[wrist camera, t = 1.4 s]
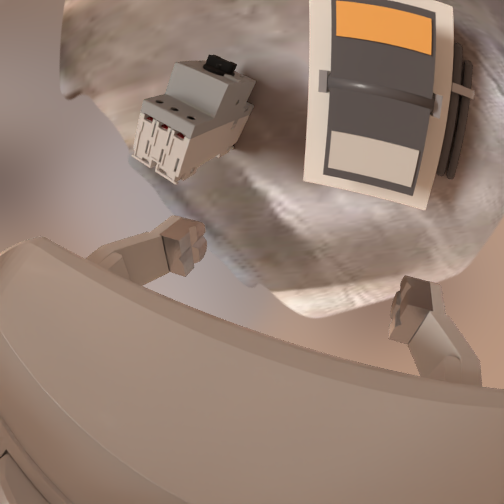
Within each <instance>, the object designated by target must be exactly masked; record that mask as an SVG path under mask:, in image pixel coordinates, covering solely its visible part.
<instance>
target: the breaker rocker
mask: <svg viewBox="0 0 504 504" xmlns="http://www.w3.org/2000/svg"><path fill="white" fill-rule="evenodd" d="M435 57H436V12H433V11H430V10H426V9H423V8H419V7H416V6H412V5H408V4H404V3H399V2H395V1H390V0H331V74H329V76H328V89H330V94H329V111H328V125H327V137H326V148H325V159H324V168H323V175H328V176H332V177H337V178H342V179H347V180H351V181H355V182H360V183H364V184H368V185H372V186H376V187H380V188H384V189H388V190H392V191H396V192H399V193H403V194H407V195H410V196H413V194H414V190H415V186H416V182H417V178H418V174H419V170H420V165H421V161H422V156H423V151H424V146H425V141H426V136H427V130H428V124H429V118H430V112H432V110H433V106H434V98H433V97H432V95H433V85H434V74H435Z"/></svg>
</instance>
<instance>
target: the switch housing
mask: <svg viewBox="0 0 504 504" xmlns="http://www.w3.org/2000/svg"><path fill="white" fill-rule="evenodd" d="M390 1H395V2H399V3H404V4H408V5H412V6H416V7H419V8H423V9H426V10H430V11H433V12H436V57H435V74H434V85H433V95H432V97H433V98H434V106H433V110H432V112H430V118H429V124H428V130H427V136H426V141H425V146H424V151H423V156H422V161H421V165H420V170H419V174H418V178H417V182H416V186H415V190H414V194H413V196H410V195H407V194H403V193H399V192H396V191H392V190H388V189H384V188H380V187H376V186H372V185H368V184H364V183H360V182H355V181H351V180H347V179H342V178H337V177H332V176H328V175H323V168H324V159H325V148H326V137H327V125H328V111H329V94H330V89H328V76H329V74H331V0H309V13H310V47H309V89H308V113H307V132H306V148H305V163H304V176H303V181H306V182H311V183H316V184H321V185H326V186H330V187H335V188H340V189H344V190H348V191H353V192H357V193H361V194H365V195H370V196H374V197H378V198H381V199H385V200H389V201H393V202H397V203H400V204H404V205H407V206H411V207H414V208H418V209H421V210H425V209H426V206H427V203H428V199H429V196H430V192H431V189H432V185H433V182H434V178H435V174H436V170H437V166H438V162H439V157H440V153H441V148H442V144H443V139H444V133H445V128H446V122H447V116H448V109H449V101H450V93H451V83H452V71H453V49H454V27H453V7H452V6H449V5H446V4H444V3H441V2H438V1H435V0H390Z"/></svg>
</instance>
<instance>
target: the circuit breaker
mask: <svg viewBox="0 0 504 504" xmlns="http://www.w3.org/2000/svg"><path fill="white" fill-rule="evenodd" d="M236 66H237V64H235V63H233V62H229V61H227V60H224V59H222V58H221V57H218V56H216V55H209V56H208V59H207V61H182V62H176V63H175V65H174V68H173V71H172V74H171V77H170V80H169V83H168V86H167V89H166V92H165V94H164V95H159V96H155V97H151V98H148V99H144V100H143V104H142V108H141V112H140V117H139V121H138V126H137V131H136V135H135V141H134V146H133V149H134V150H135V153H134V154H132V157H134V158H135V159H137V160H139V161H140V162H142V163H143V164H145V165H146V166H148V167H149V168H151V167H154V166H156V169H155V171H156V172H157V173H159V174H160V175H162V176H163V177H165V178H166V179H168V180H169V181H171V182H172V183H174V184H175V185H176V184H178V182H177V181H178V180H180V179H181V180H183V181H184V180H186V179H187V178H189V177H190V176H192V175H193V174H195V173H196V170H197V167H199V166H201V165H202V164H204V163H205V162H207V161H209V160H210V159H212V158H214V157H215V156H217V157H218V158H220V157H222V156H223V155H225V154H227V153H228V152H229V151H230V149H232V150H233V149H234V146H233V144H235V143H237V141H238V139H239V136H240V134H241V132H242V130H243V128H244V126H245V124H246V122H247V119H248V117H249V115H250V113H251V111H252V109H253V107H254V105H252V104H250V103H248V102H247V100H248V98H249V96H250V93H251V91H252V89H253V87H254V85H255V83H256V81H255V80H253V79H251V78H249V77H246V76H244V75H242V74H240V73H238V72H236V71H234V70H235V68H236ZM146 160H148V161H149V162H147V161H146ZM163 171H165V172H167V174H166V173H164V172H163Z"/></svg>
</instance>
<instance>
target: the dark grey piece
mask: <svg viewBox="0 0 504 504" xmlns="http://www.w3.org/2000/svg"><path fill="white" fill-rule="evenodd" d="M472 69H473V65H472V63H471V62H470V61H465V62H464V75H463V86H461V85H460V83H461V71H462V46H461V44H459V43H455V44H454V57H453V74H452V83H451V95H450V103H449V111H448V117H447V123H446V129H445V135H444V140H443V145H442V150H441V154H440V159H439V163H438V167H437V174H438V175H439V176H443V175H444V173H445V169H446V165H447V161H448V157H449V152H450V148H451V143H452V138H453V133H454V127H455V122H456V115H457V109H458V101H459V94H460V95H462V96H461V104H460V111H459V118H458V124H457V129H456V135H455V140H454V145H453V149H452V154H451V158H450V162H449V166H448V170H447V178H448V179H453V178H454V175H455V172H456V168H457V164H458V160H459V156H460V151H461V147H462V142H463V137H464V132H465V127H466V121H467V115H468V108H469V101H470V99H473V100H474V94H475V91H473V90H471V82H472Z"/></svg>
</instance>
